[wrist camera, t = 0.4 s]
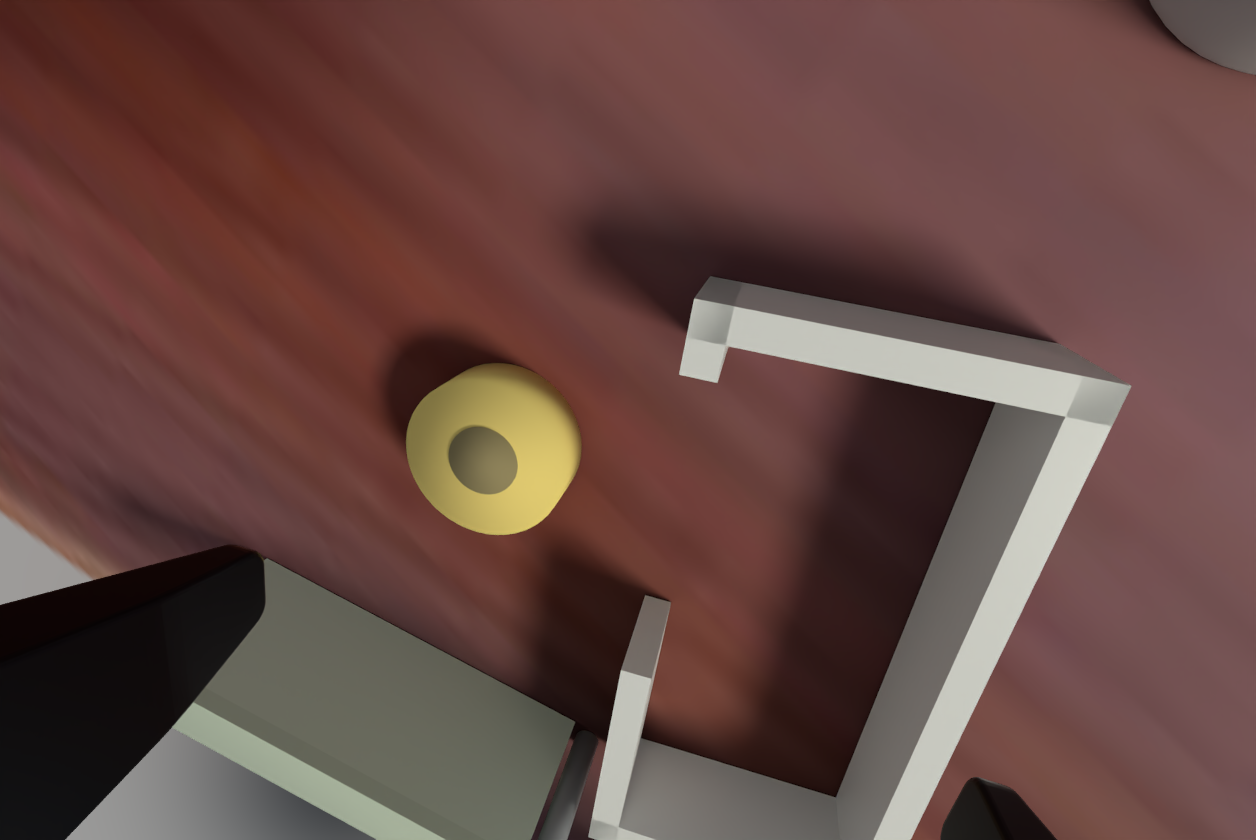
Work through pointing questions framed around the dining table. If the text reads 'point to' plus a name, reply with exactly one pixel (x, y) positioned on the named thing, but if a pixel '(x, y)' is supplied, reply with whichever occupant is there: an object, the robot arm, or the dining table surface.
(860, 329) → the white open pen
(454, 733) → the cover
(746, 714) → the dining table surface
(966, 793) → the robot arm
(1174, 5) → the mug
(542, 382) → the cord coil
